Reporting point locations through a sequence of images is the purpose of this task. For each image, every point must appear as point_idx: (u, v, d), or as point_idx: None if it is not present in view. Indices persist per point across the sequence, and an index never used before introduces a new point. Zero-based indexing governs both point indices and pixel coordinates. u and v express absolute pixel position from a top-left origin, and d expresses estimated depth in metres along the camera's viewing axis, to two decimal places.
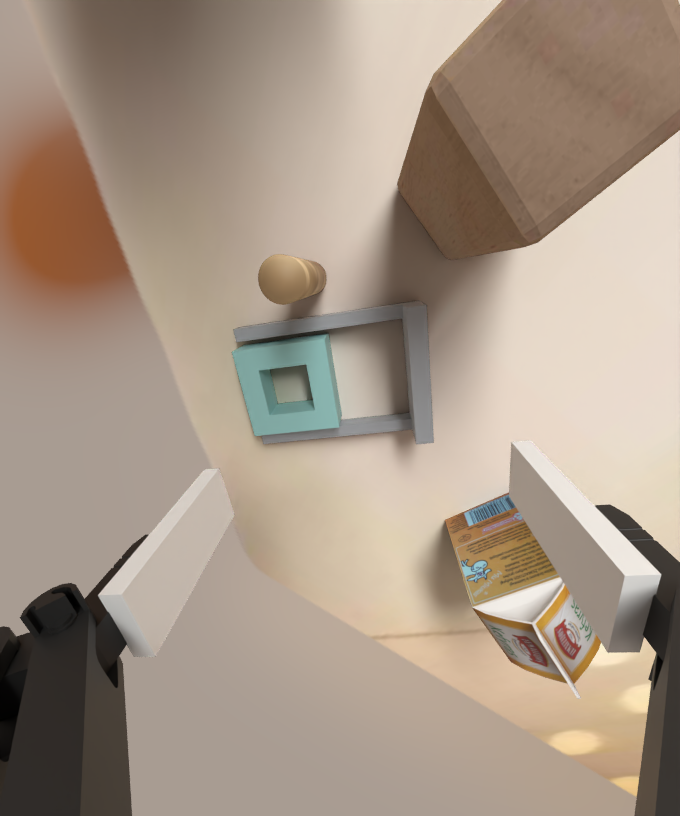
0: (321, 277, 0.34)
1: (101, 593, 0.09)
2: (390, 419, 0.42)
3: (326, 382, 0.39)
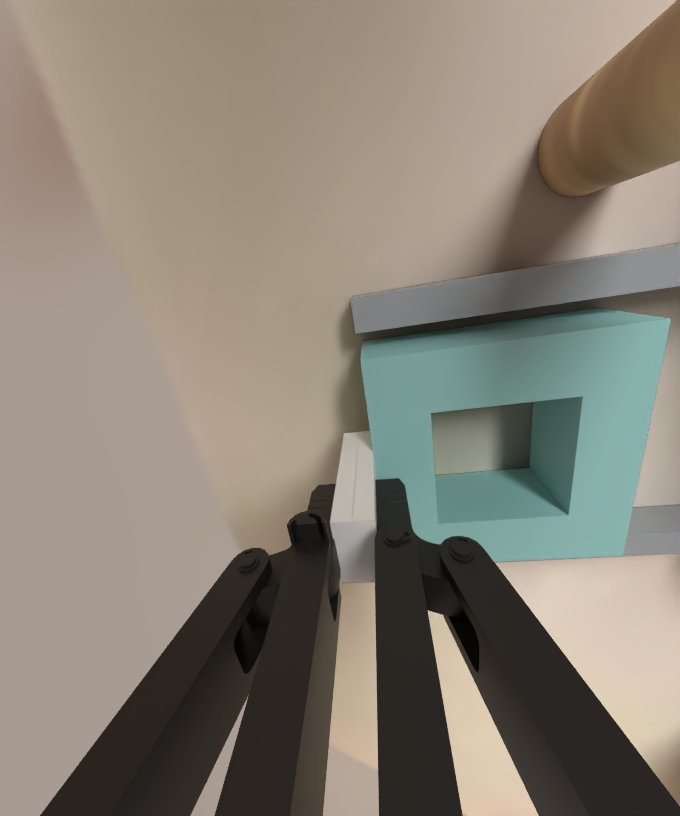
0: None
1: (332, 521, 0.11)
2: None
3: (628, 447, 0.13)
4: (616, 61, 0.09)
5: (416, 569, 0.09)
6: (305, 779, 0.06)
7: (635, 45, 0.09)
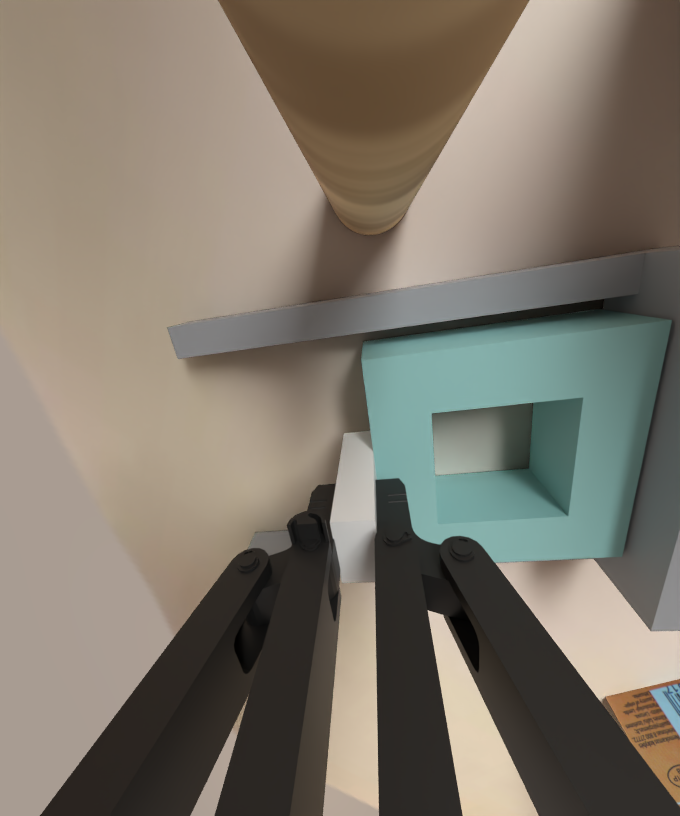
0: None
1: (332, 521, 0.11)
2: None
3: (628, 448, 0.13)
4: None
5: (416, 569, 0.09)
6: (305, 779, 0.06)
7: None
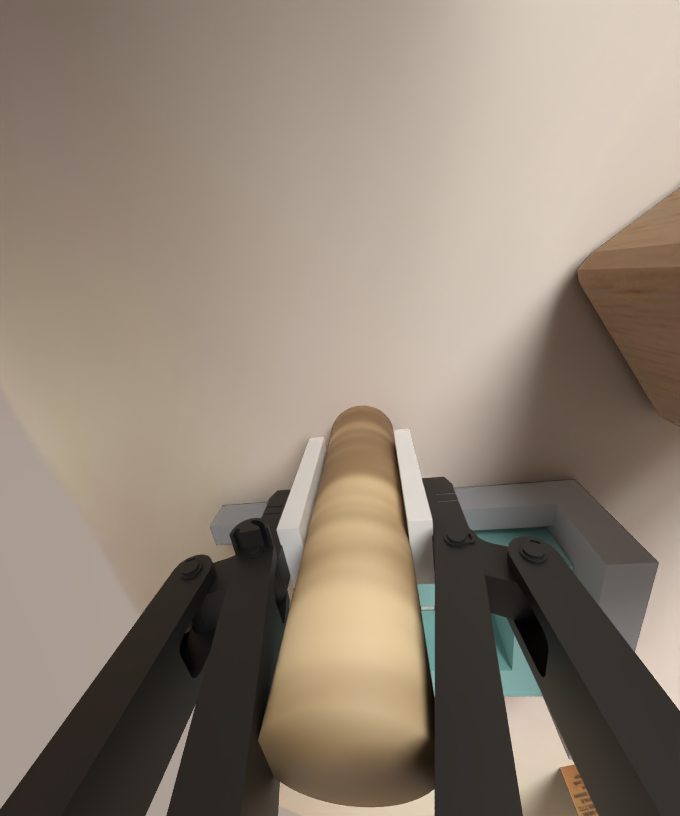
0: None
1: (278, 528, 0.11)
2: None
3: None
4: (327, 454, 0.16)
5: (480, 574, 0.08)
6: (257, 775, 0.06)
7: (325, 462, 0.15)
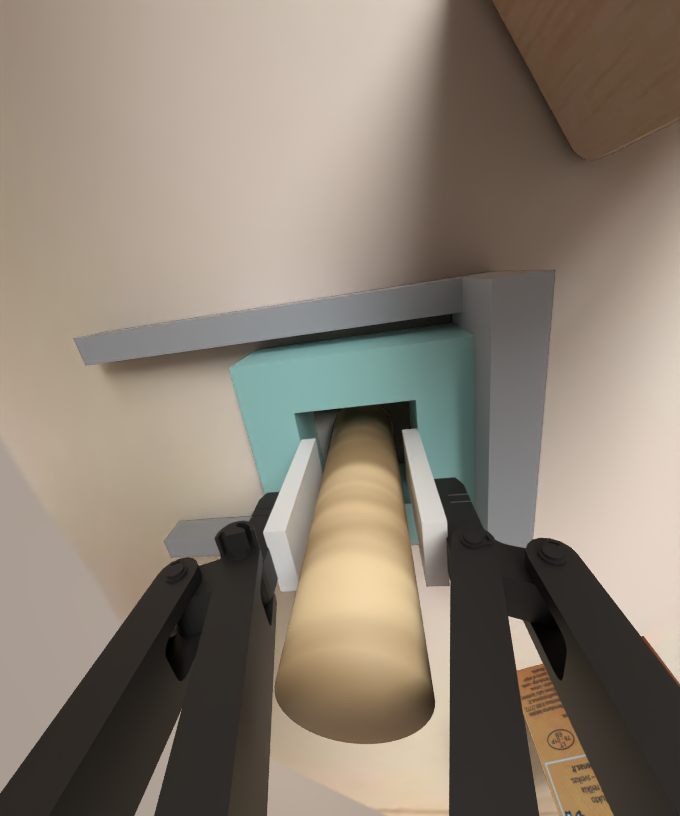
0: None
1: (265, 531, 0.11)
2: None
3: (461, 443, 0.16)
4: (330, 446, 0.17)
5: (497, 577, 0.08)
6: (245, 776, 0.06)
7: (329, 453, 0.16)
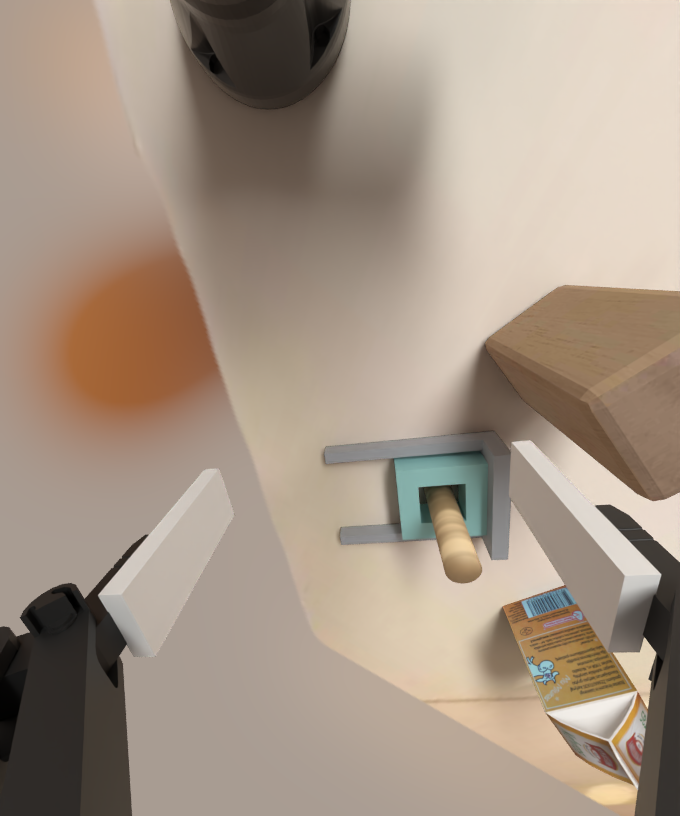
0: None
1: (101, 593, 0.09)
2: None
3: (482, 498, 0.41)
4: (430, 498, 0.42)
5: None
6: None
7: (431, 502, 0.41)
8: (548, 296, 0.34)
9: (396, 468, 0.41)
